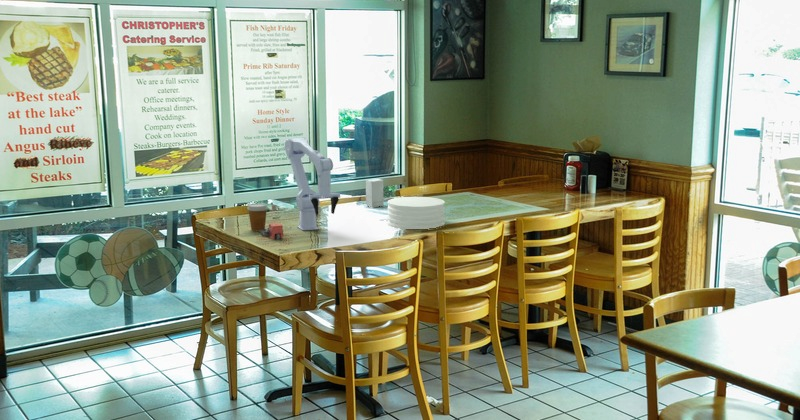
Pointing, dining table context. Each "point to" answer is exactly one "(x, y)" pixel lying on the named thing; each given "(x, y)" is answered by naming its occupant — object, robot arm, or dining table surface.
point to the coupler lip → (266, 233)
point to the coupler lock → (275, 230)
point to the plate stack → (416, 212)
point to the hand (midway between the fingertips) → (324, 213)
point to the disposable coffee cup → (257, 216)
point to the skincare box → (374, 193)
